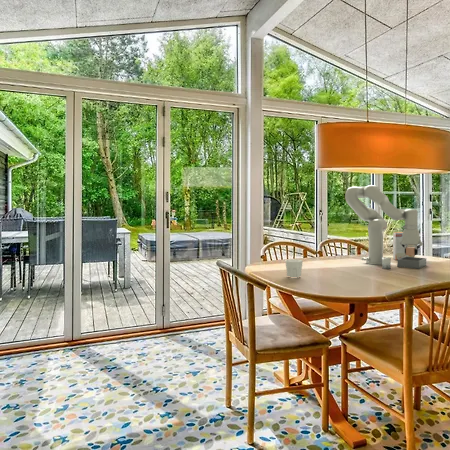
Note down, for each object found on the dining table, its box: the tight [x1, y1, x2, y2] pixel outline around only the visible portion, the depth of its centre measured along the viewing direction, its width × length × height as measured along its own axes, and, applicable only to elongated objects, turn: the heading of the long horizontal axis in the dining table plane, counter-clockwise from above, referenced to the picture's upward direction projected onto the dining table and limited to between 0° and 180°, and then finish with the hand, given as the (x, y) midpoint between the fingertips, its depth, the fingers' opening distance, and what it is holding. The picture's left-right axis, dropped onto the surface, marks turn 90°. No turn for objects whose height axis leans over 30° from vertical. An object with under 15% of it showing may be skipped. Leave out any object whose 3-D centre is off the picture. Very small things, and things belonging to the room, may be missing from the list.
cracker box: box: [392, 231, 416, 261], centre depth 285 cm, size 14×6×21 cm, turn 84°
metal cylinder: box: [381, 257, 392, 270], centre depth 247 cm, size 5×5×7 cm
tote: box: [396, 256, 427, 270], centre depth 256 cm, size 18×14×5 cm
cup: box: [284, 258, 303, 277], centre depth 221 cm, size 10×10×10 cm
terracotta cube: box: [406, 247, 416, 257], centre depth 253 cm, size 5×5×5 cm
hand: (411, 254), depth 253 cm, fingers closed on terracotta cube, 5 cm apart
